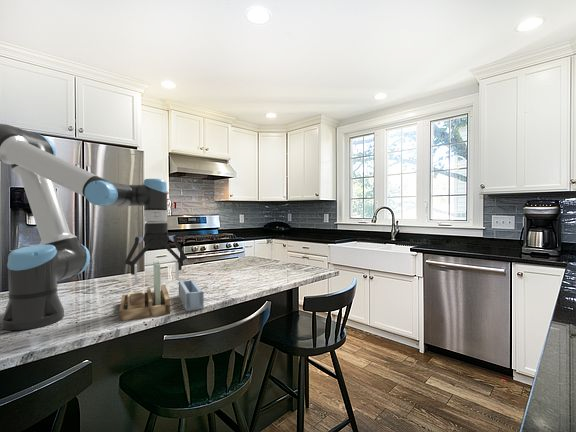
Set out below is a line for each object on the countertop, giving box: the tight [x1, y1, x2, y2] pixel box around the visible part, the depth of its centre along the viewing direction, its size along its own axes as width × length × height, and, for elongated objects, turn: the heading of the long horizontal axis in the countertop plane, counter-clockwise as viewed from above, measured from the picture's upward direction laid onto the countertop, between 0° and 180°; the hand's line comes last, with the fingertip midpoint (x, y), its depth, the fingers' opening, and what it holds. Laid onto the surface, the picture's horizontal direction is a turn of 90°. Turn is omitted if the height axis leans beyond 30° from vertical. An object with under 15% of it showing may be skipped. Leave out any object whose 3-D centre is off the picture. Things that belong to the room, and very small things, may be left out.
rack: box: [118, 285, 171, 322], centre depth 108 cm, size 15×20×5 cm
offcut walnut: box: [128, 293, 146, 306], centre depth 102 cm, size 4×5×2 cm
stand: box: [178, 279, 205, 312], centre depth 115 cm, size 6×20×6 cm, turn 26°
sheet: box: [153, 259, 162, 306], centre depth 110 cm, size 2×12×16 cm, turn 26°
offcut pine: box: [127, 290, 146, 301], centre depth 111 cm, size 5×6×4 cm
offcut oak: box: [127, 301, 146, 309], centre depth 102 cm, size 5×6×4 cm
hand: (157, 281), depth 110 cm, fingers open, 13 cm apart
